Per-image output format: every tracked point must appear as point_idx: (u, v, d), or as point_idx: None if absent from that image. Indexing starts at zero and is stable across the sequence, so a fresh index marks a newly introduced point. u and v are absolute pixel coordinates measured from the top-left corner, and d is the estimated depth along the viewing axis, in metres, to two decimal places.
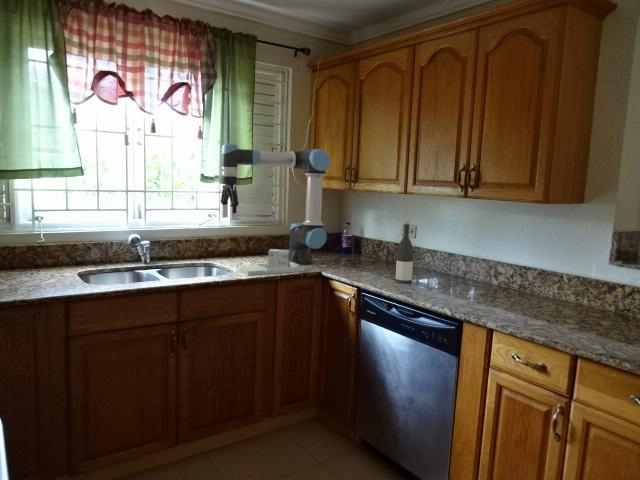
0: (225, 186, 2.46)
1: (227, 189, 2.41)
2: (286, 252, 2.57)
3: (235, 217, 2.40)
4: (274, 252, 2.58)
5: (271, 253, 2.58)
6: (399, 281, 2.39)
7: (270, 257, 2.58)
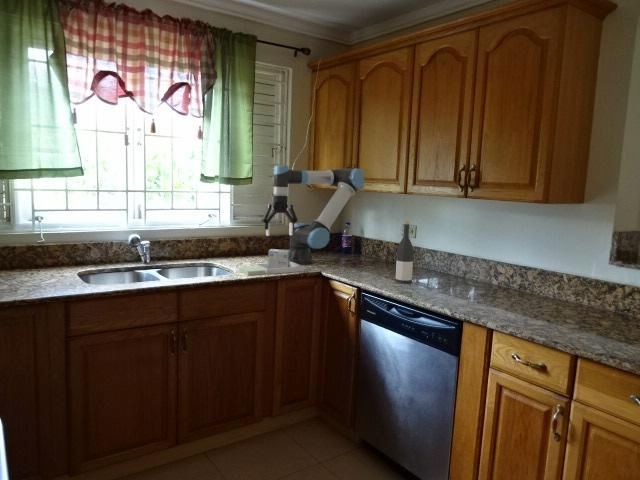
0: None
1: None
2: (286, 252, 2.57)
3: (267, 233, 2.55)
4: (274, 252, 2.58)
5: (271, 253, 2.58)
6: (399, 281, 2.39)
7: (270, 257, 2.58)
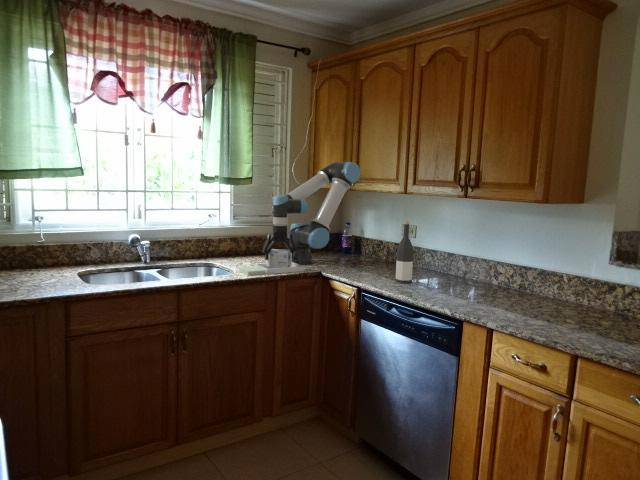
0: None
1: None
2: (286, 252, 2.57)
3: (268, 264, 2.57)
4: (274, 252, 2.58)
5: (271, 253, 2.58)
6: (399, 281, 2.39)
7: (270, 257, 2.58)
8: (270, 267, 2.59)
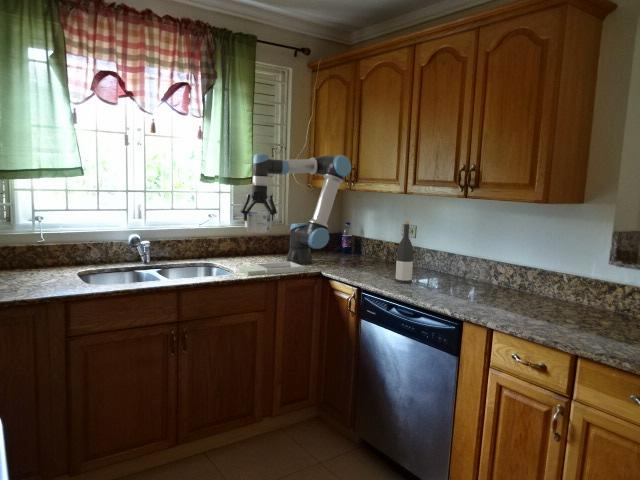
0: None
1: None
2: (265, 213, 2.47)
3: (246, 225, 2.47)
4: (253, 213, 2.47)
5: (250, 214, 2.48)
6: (399, 281, 2.39)
7: (249, 218, 2.48)
8: (249, 228, 2.49)
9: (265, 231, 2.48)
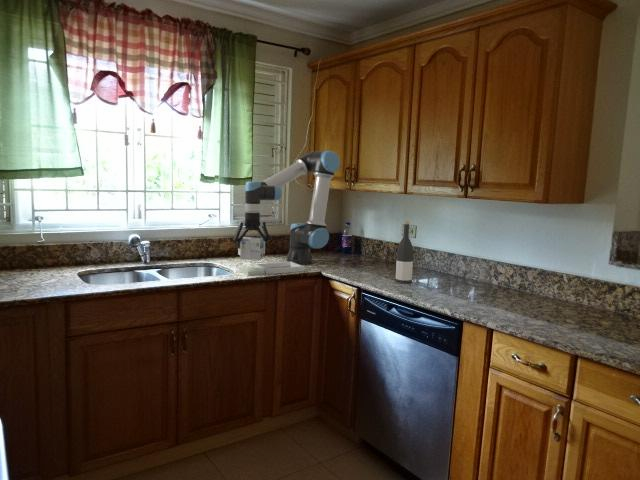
0: None
1: None
2: (258, 240, 2.46)
3: (239, 252, 2.47)
4: (246, 240, 2.47)
5: (243, 241, 2.47)
6: (399, 281, 2.39)
7: (242, 245, 2.47)
8: (242, 256, 2.48)
9: (258, 258, 2.47)
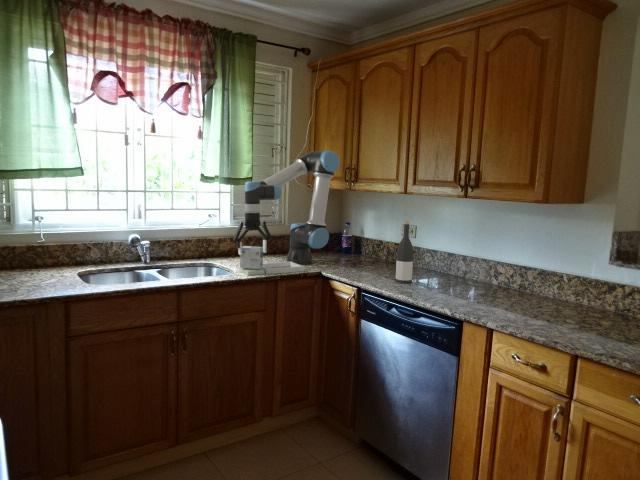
0: None
1: None
2: (258, 249, 2.47)
3: (240, 252, 2.47)
4: (246, 249, 2.48)
5: (243, 250, 2.48)
6: (399, 281, 2.39)
7: (242, 254, 2.48)
8: (242, 264, 2.49)
9: (258, 267, 2.48)
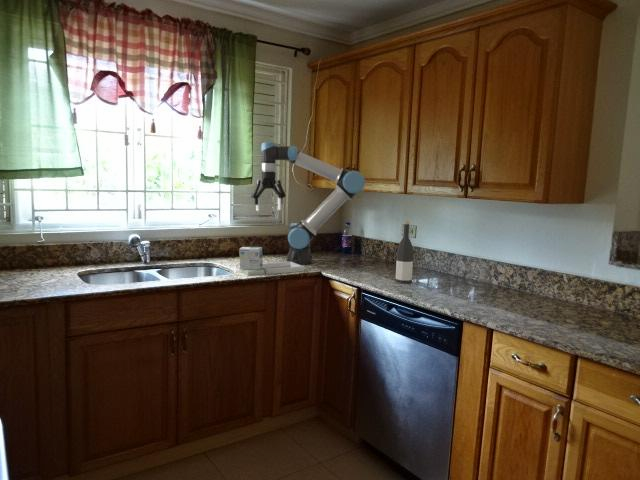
0: None
1: None
2: (257, 250, 2.47)
3: (257, 208, 2.64)
4: (245, 250, 2.47)
5: (242, 251, 2.48)
6: (399, 281, 2.39)
7: (241, 255, 2.48)
8: (242, 266, 2.49)
9: (258, 268, 2.48)
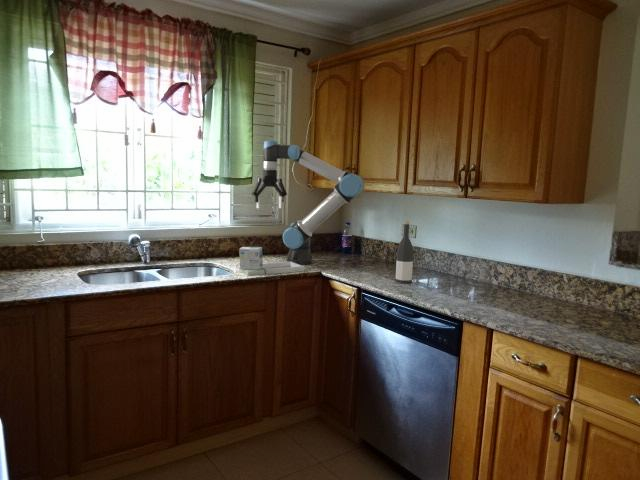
0: None
1: None
2: (257, 250, 2.47)
3: (258, 206, 2.67)
4: (245, 250, 2.47)
5: (242, 251, 2.48)
6: (399, 281, 2.39)
7: (241, 255, 2.48)
8: (242, 266, 2.49)
9: (258, 268, 2.48)
